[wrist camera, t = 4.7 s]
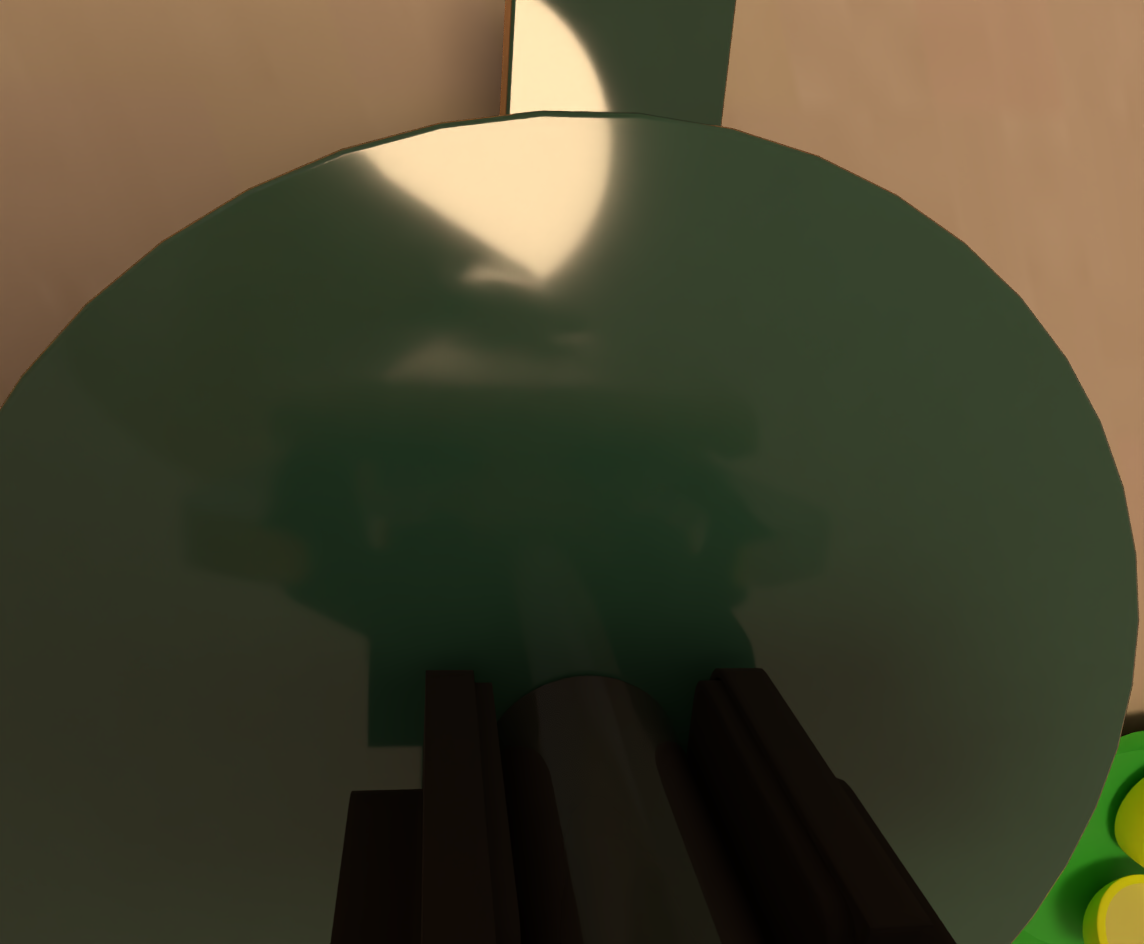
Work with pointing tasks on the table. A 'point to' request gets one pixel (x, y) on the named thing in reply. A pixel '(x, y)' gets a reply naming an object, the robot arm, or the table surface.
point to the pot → (617, 57)
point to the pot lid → (548, 537)
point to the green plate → (1102, 866)
